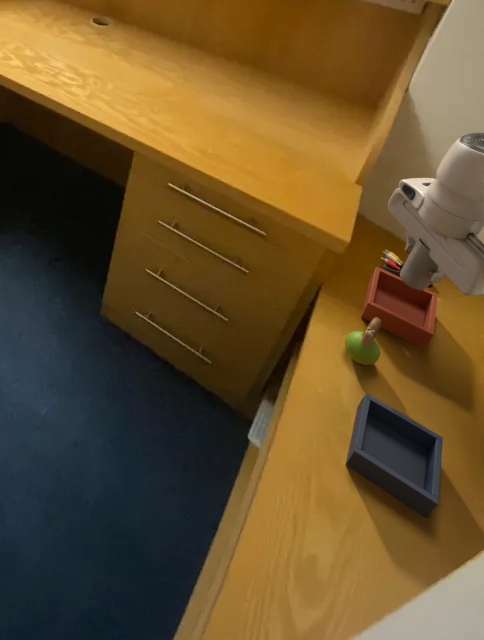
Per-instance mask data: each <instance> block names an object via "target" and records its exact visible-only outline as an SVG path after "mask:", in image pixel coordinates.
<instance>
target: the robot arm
mask: <svg viewBox="0 0 484 640" xmlns="http://www.w3.org/2000/svg"><path fill="white" fill-rule="evenodd" d="M387 209H388V212H389V213H390V214H391V215H392V216H393V217H394V218H395V219H396V221H397V222H398V223H399V224H400V225H401V226H402V227H403V229H405V233H404V235H405V242H406V244H405V247H404V251H405V252H406V253H407V255H408V256H409V255H410V253H411V251H412V249H413V247H414V246H415V244H416V242H417V241H418V239H419V238H420V239H421V241H422V242H423V244H424V245H425V246H426V247H428V248H429V249H430V252H429V256H430V258H431V259H432V260H433V261H434V262H435V263H436V264H437V265H438V270H429V272H428V274H427V276H428V278H429V279H430V280H431V281H432V282H433V284H439V283H442V282H443V280H444V279H445V278H448V279H449V280H450V282H452V284H453V285H454V286H455V287H456V288H457V289H458V290H459V292H460V293H461V294H463V295H464V296H469V297H479V296H480V297H481V296H484V242H483V241H482V240H481V239H480V238H479V237H478V236H479V235H480V233H481V232H482V230H483V228H484V132H471V133H467V134H464V135H462V136H461V137H459V138H458V139H456V140H455V141H454V142H453V144H451V146H450V147H449V148H448V150H447V151H446V153H445V154H444V156H443V157H442V160H441V161H440V163H439V165H438V167H437V169H436V176H435V178H433V177H413V178H403V179H400V181H399V183H398V187H397V188H395V190H394V191H393V192H392V194H391V196H390V198H389V200H388V202H387Z"/></svg>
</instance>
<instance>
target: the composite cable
mask: <svg viewBox="0 0 484 640" xmlns="http://www.w3.org/2000/svg"><path fill="white" fill-rule="evenodd" d="M382 253H383V254H384V255H385V257H380V259H381V260H382V261H383V263H384V265H383V268H382V269H383V270H385V271H388V272H390V273H392V274H395V275H396V274H397V275H400V272H401V270H402V268H403V266H404V264H405V263H404V262H403V261H402V260H401V259H400V257H399V256H397V255H396V254H395V253H394V252H392V251H389V250H388V249H385V250H383V251H382ZM433 284H434V283H433V282H432V281H431V282H430V284H429V286H428V287H431V286H433Z"/></svg>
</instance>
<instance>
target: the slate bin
mask: <svg viewBox="0 0 484 640" xmlns="http://www.w3.org/2000/svg"><path fill="white" fill-rule="evenodd" d="M443 443H444V436H442V435H440V434H439V433H437V432H435V431H433V430H432V429H429V428H428V427H426V426H424V425H422V424H421V423H419V422H417V421H415V420H414V419H412V418H410V417H409V416H407V415H405V414H403V413H402V412H400V411H398V410H397V409H395V408H393V407H392V406H389V405H388V404H386V403H384V402H383V401H381V400H380V399H377V398H376V397H374V396H372V395H371V394H369V393H367V392H365V393H364V395H363V396H362V398H361V401H360V402H359V404H358V406H357V408H356V412H355V418H354V422H353V426H352V431H351V437H350V443H349V446H348V451H347V456H346V461H345V466H346V467H348V468H349V469H351V470H352V471H354V472H356V473H357V474H358V475H360V476H362V477H363V478H364V479H366V480H367V481H369V482H371V483H372V484H374V485H376V486H377V487H378V488H380V489H381V490H383V491H385V492H386V493H388V494H389V495H391V496H392V497H393V498H395V499H396V500H397V501H399V502H401V503H403V504H404V505H406V506H407V507H409V508H410V509H411V510H413V511H415V512H416V513H418V514H419V515H420V516H422V517H424V518H426V519H427V518H428V517H429V516H430V515H431V513H433V511H434V510H435V509H437V507H438V505H439V501H440V500H439V498H440V485H441V473H442V472H441V469H442V457H443V456H442V455H443Z"/></svg>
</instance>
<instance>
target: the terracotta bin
mask: <svg viewBox="0 0 484 640" xmlns="http://www.w3.org/2000/svg"><path fill="white" fill-rule="evenodd" d="M369 280H370V281H368V286H367V289H368V290H367V289H366V293H367V294H366V293H365V298H364V302H365V303H364V302H363V306H364V307H362V310H363V311H362V312H361V314H360V315H361V316H360V318H362V317H363V318H362V319H364V318H365V319H364V320H366V319H367V320H366V321H367V322H369V323H370V322H371V321H372V320H373V319H374V318H375V317H377V318H379V319H380V320H381V327H380V329H383V330H385V331H387V332H389V333H391V334H393V335H395V336H396V337H399V338H401V339H403V340H405V341H407V342H409V343H411V344H412V345H415V346H416V347H419V348H420V349H423V350H426V347H428V344H429V343H430V341H431V340H432V339H433V337H434V335H435V325H436V314H437V305H438V296H439V294H438V293H436V292H434V291H432V290H429V289H428V288H426V289H425V290H417V289H414V288H412V287H410V286H408V285H407V284H405V283H404V282H403V280H402V279H401V277H400V275H399V276H398V275H396V274H395V273H391V272H389V271H386V270H385V269H384V268H380V267H378V266H375V269H374V271H373V273H372V274H371V276H370V279H369Z"/></svg>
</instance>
